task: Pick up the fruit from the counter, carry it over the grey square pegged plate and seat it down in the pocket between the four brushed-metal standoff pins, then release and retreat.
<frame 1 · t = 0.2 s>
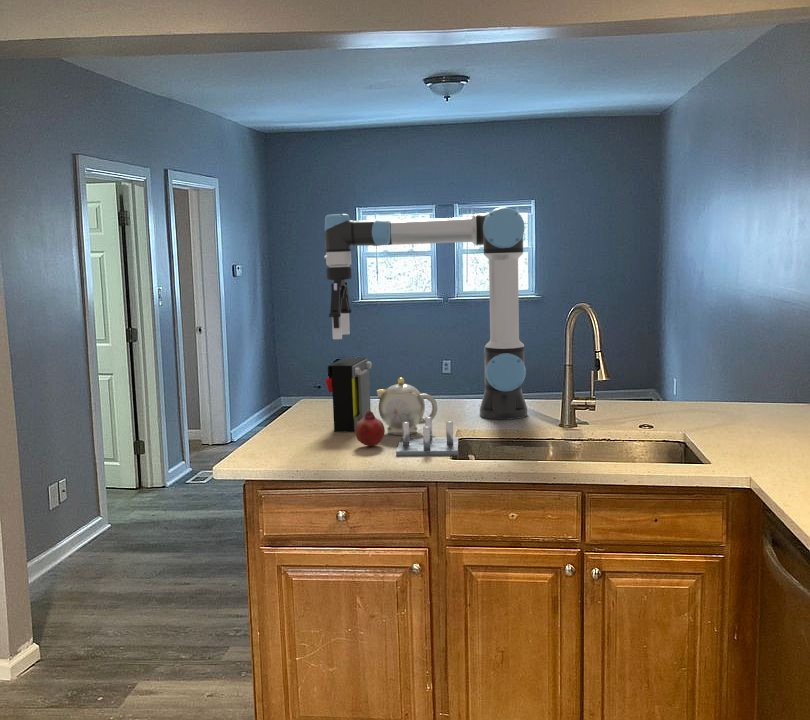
hand: (341, 336, 257), 28 cm above the worktop, fingers open, 13 cm apart
electrical component: (352, 426, 261), on the worktop
fruit: (370, 447, 233), on the worktop
teapot: (407, 433, 249), on the worktop
grey square pegged plate: (428, 448, 228), on the worktop
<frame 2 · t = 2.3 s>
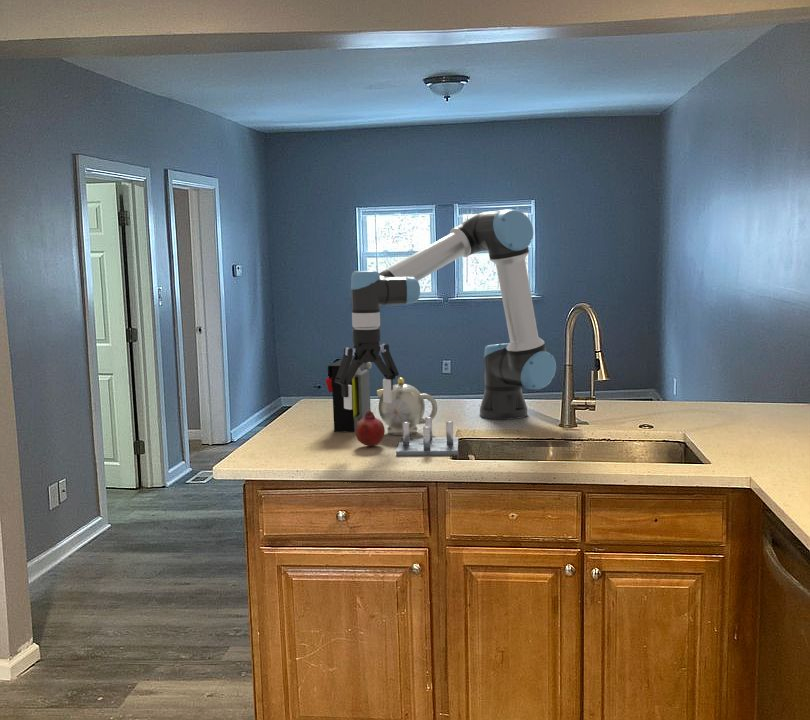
hand: (368, 405, 231), 11 cm above the worktop, fingers open, 13 cm apart
nothing on the worktop moved.
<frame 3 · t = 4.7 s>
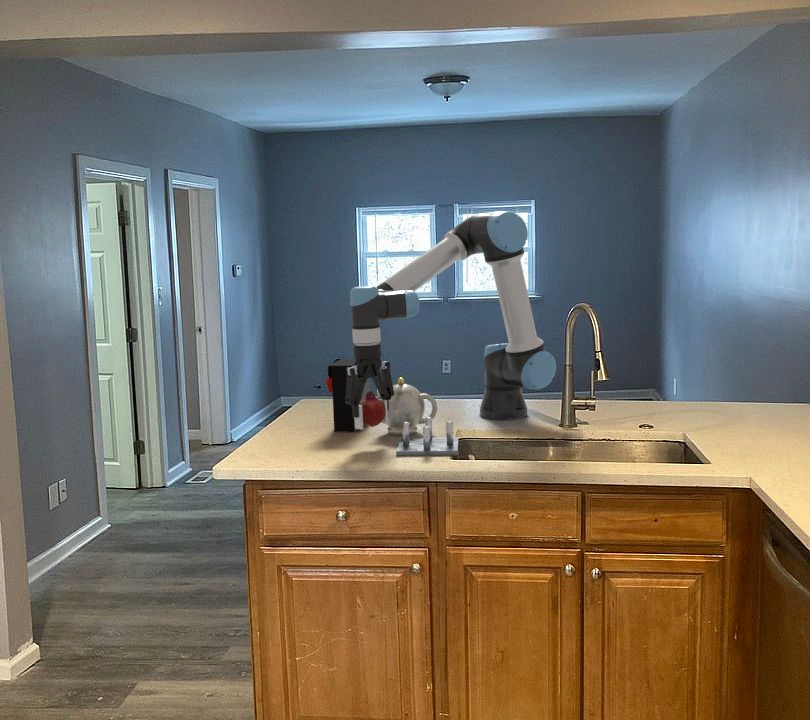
hand: (371, 425, 232), 6 cm above the worktop, fingers closed on fruit, 8 cm apart
fruit: (372, 427, 232), point 5 cm above the worktop, touching gripper
everything else where it was.
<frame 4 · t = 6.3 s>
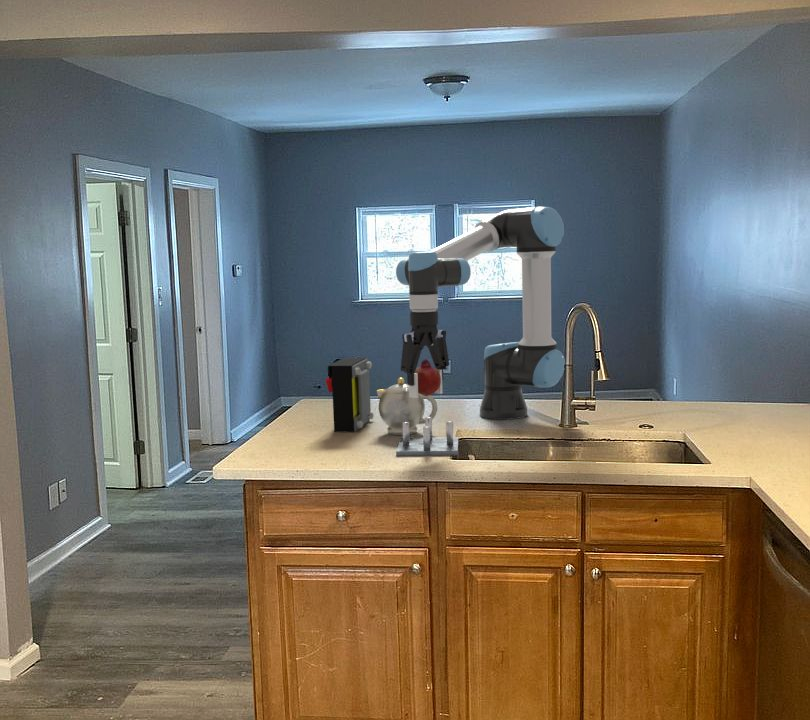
hand: (426, 395, 227), 15 cm above the worktop, fingers closed on fruit, 8 cm apart
fruit: (426, 397, 227), point 14 cm above the worktop, touching gripper
everything else where it was.
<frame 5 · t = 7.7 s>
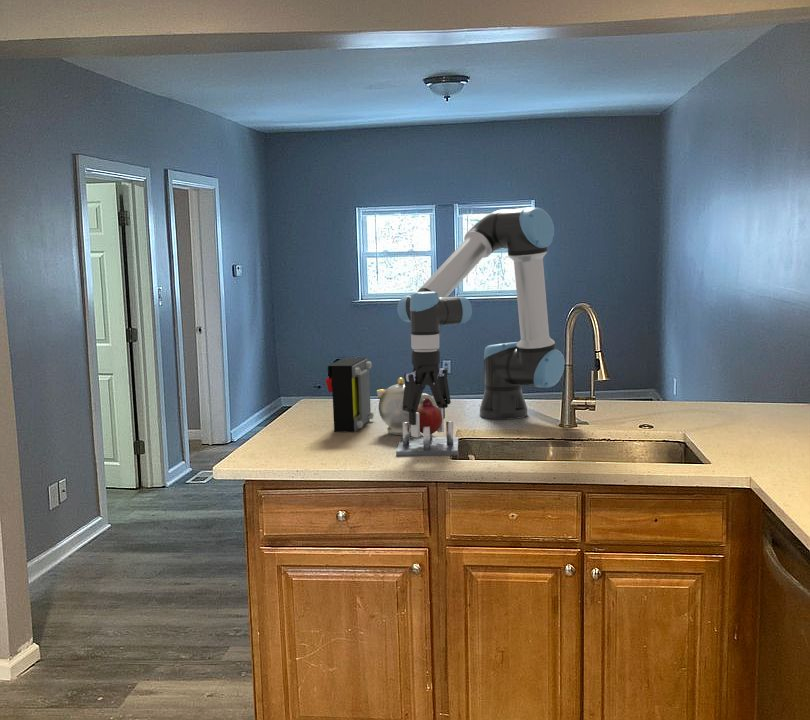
hand: (427, 433, 228), 4 cm above the worktop, fingers closed on fruit, 8 cm apart
fruit: (427, 435, 228), point 4 cm above the worktop, touching gripper
everything else where it was.
when the fingers open (3 cm above the worktop, at t = 8.3 s): fruit drops 1 cm, resting on grey square pegged plate.
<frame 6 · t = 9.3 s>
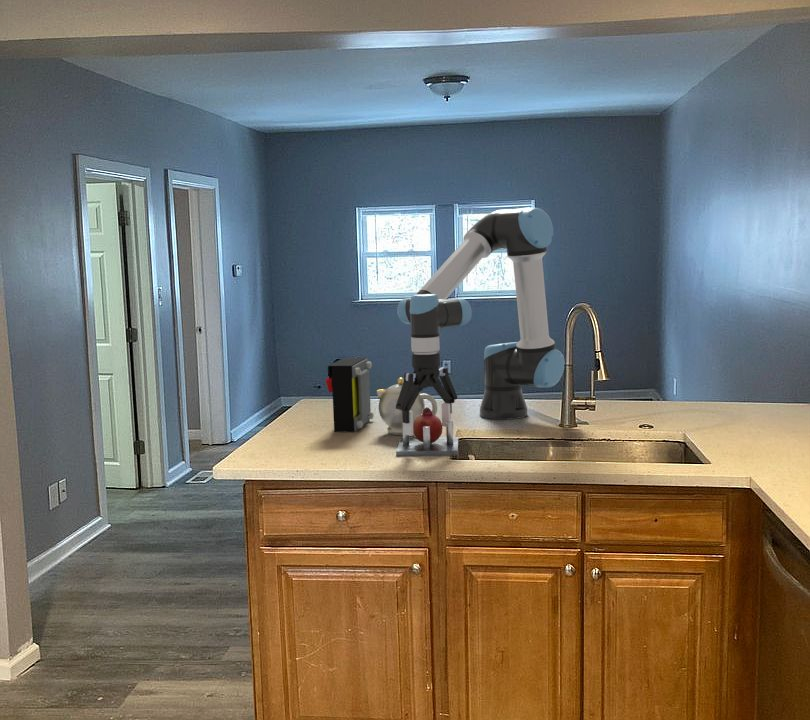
hand: (428, 430, 228), 5 cm above the worktop, fingers open, 13 cm apart
fruit: (428, 444, 228), point 1 cm above the worktop, touching grey square pegged plate
everything else where it was.
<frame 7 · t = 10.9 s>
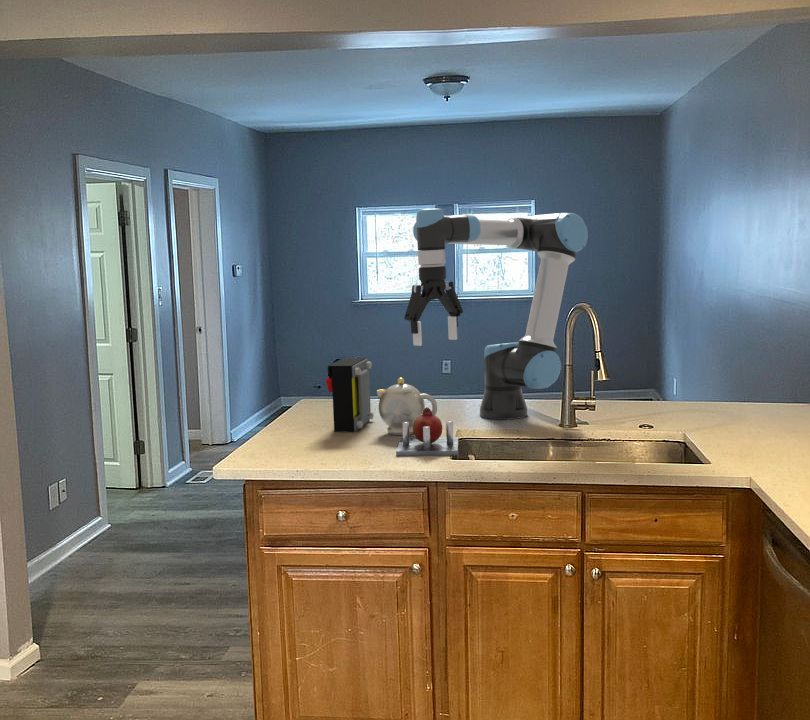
hand: (435, 342, 235), 27 cm above the worktop, fingers open, 13 cm apart
nothing on the worktop moved.
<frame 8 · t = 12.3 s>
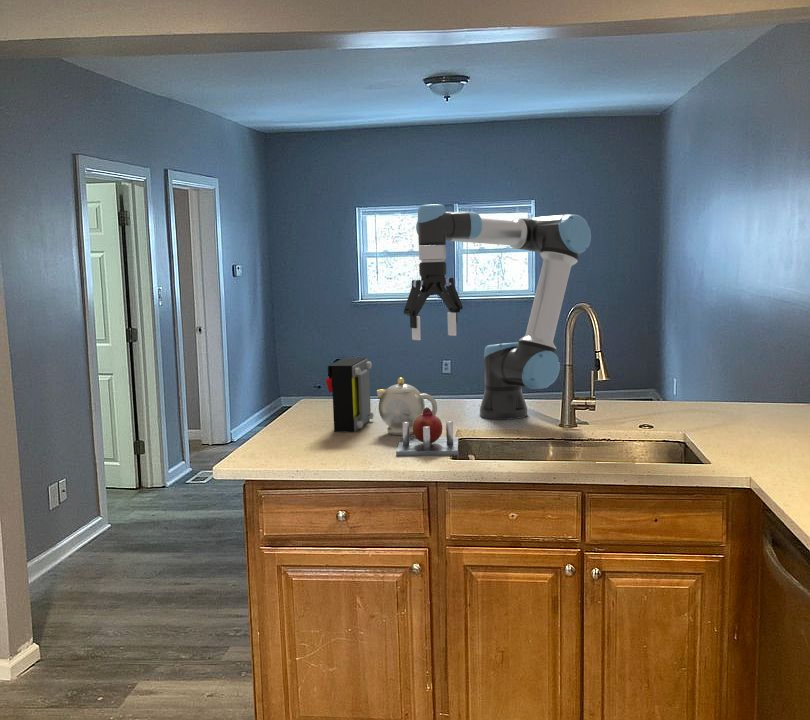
hand: (434, 337, 236), 29 cm above the worktop, fingers open, 13 cm apart
nothing on the worktop moved.
at the end: fruit 0.0 cm off-centre on the grey square pegged plate, point 1.0 cm above the grey square pegged plate's base; fruit touching grey square pegged plate; the gripper is holding nothing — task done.
